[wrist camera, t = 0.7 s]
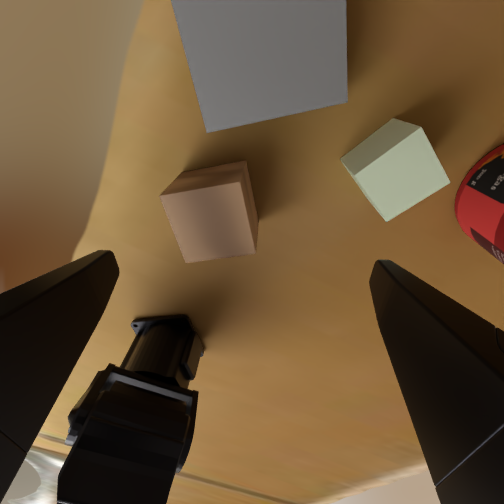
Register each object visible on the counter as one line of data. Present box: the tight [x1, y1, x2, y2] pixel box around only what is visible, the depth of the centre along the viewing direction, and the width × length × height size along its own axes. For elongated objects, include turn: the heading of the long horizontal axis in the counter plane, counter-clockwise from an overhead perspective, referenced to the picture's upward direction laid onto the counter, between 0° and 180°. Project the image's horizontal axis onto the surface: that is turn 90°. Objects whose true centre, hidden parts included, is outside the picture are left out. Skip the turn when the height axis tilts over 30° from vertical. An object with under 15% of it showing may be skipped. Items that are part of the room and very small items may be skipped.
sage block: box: [340, 118, 450, 222], centre depth 18 cm, size 4×4×4 cm
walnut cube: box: [159, 160, 258, 263], centre depth 19 cm, size 5×5×5 cm
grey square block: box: [171, 0, 348, 133], centre depth 15 cm, size 8×8×4 cm
